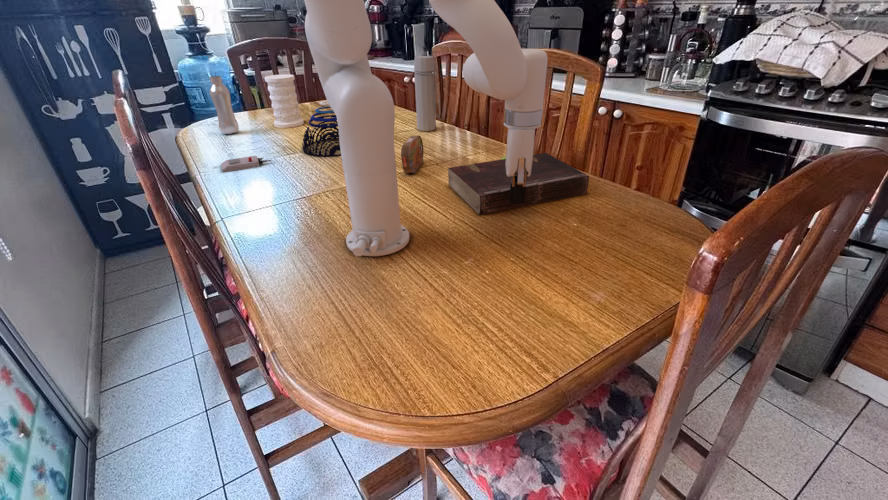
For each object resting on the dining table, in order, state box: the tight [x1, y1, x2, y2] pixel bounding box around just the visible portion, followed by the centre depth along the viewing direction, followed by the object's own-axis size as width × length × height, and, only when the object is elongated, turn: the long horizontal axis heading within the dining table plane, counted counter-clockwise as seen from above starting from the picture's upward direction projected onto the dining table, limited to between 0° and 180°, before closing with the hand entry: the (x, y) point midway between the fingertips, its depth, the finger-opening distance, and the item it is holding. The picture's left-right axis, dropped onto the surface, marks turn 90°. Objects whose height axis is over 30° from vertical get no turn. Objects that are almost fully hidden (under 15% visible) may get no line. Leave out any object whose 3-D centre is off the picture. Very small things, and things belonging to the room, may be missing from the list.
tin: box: [400, 135, 424, 174], centre depth 118 cm, size 15×3×8 cm, turn 168°
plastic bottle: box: [208, 75, 240, 135], centre depth 153 cm, size 6×7×20 cm
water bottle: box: [413, 55, 441, 132], centre depth 150 cm, size 9×8×25 cm
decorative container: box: [264, 73, 305, 129], centre depth 164 cm, size 12×12×18 cm
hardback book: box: [447, 152, 590, 215], centre depth 104 cm, size 29×19×5 cm, turn 112°
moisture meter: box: [220, 155, 272, 173], centre depth 125 cm, size 7×16×3 cm, turn 117°
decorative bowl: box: [301, 100, 341, 158], centre depth 136 cm, size 20×20×14 cm
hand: (516, 201), depth 93 cm, fingers closed
